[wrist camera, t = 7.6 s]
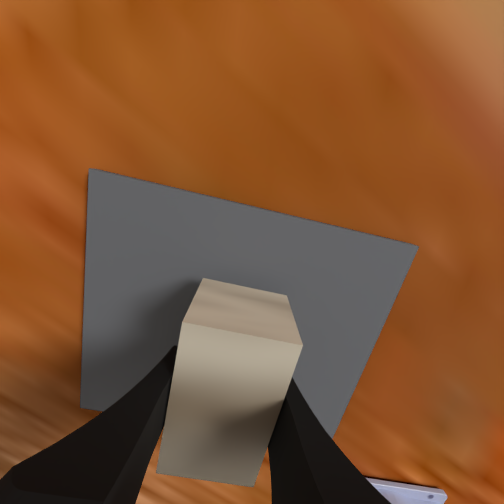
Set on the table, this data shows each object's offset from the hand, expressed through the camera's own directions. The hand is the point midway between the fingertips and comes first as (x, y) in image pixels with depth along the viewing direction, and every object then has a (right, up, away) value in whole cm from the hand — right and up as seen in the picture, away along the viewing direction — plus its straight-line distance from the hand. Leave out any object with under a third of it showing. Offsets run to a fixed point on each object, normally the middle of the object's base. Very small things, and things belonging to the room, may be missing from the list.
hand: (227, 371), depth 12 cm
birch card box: (0, +1, +2) cm, 2 cm away
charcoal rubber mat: (0, +1, +3) cm, 3 cm away
